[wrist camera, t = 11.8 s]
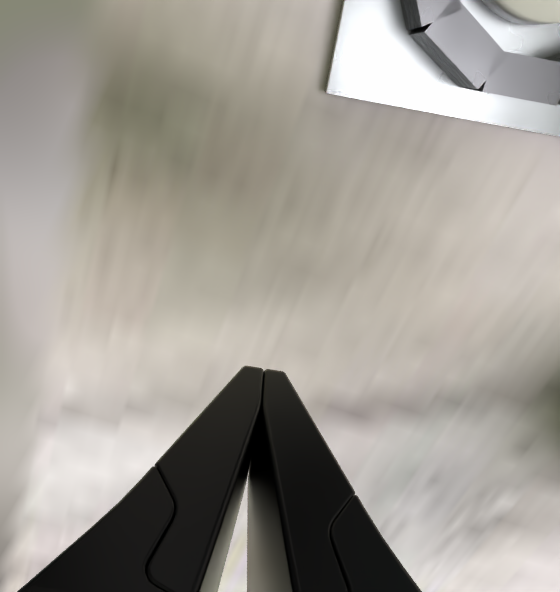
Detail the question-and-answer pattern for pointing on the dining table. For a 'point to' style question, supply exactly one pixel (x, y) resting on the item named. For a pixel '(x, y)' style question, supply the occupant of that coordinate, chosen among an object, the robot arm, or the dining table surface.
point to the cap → (526, 11)
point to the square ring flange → (449, 62)
